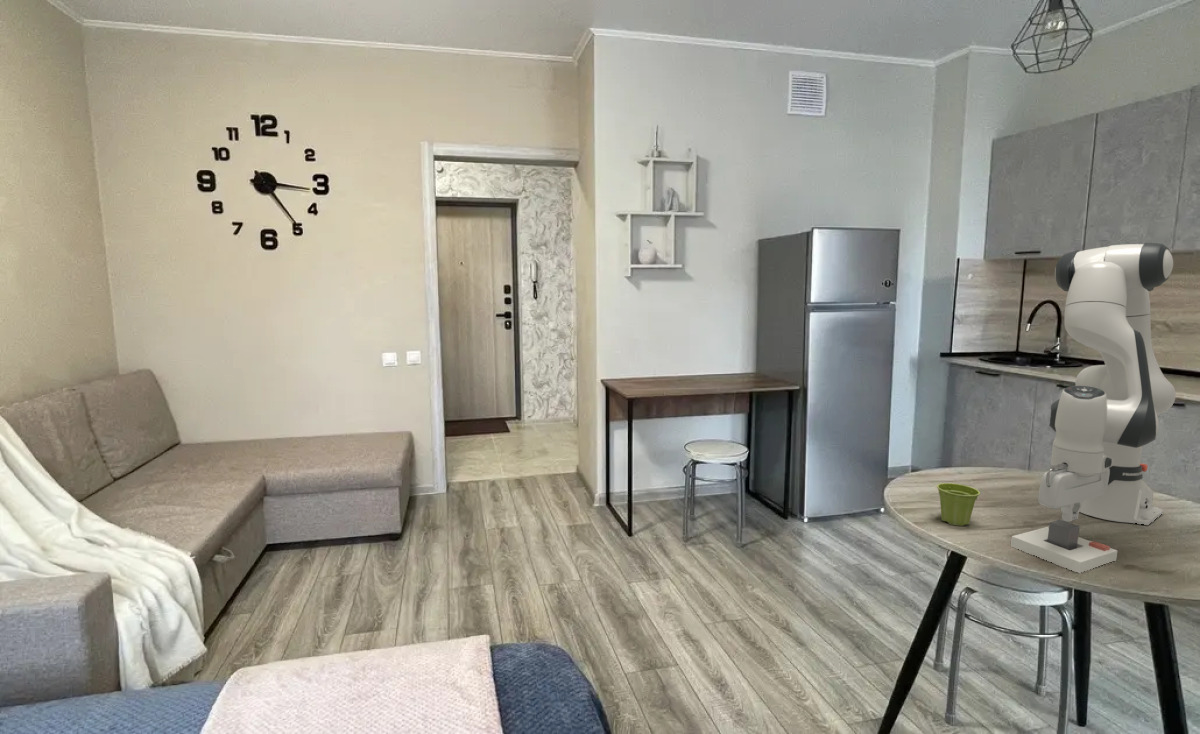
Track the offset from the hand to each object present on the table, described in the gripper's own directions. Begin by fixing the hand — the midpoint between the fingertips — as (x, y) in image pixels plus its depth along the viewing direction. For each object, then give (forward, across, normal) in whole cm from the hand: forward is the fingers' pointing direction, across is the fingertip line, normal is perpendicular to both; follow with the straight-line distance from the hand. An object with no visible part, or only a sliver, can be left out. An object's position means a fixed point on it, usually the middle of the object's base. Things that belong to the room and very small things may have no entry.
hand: (1069, 520), depth 134 cm
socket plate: (+8, 0, 0) cm, 8 cm away
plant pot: (+8, -5, +23) cm, 25 cm away
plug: (+8, 0, +1) cm, 8 cm away
